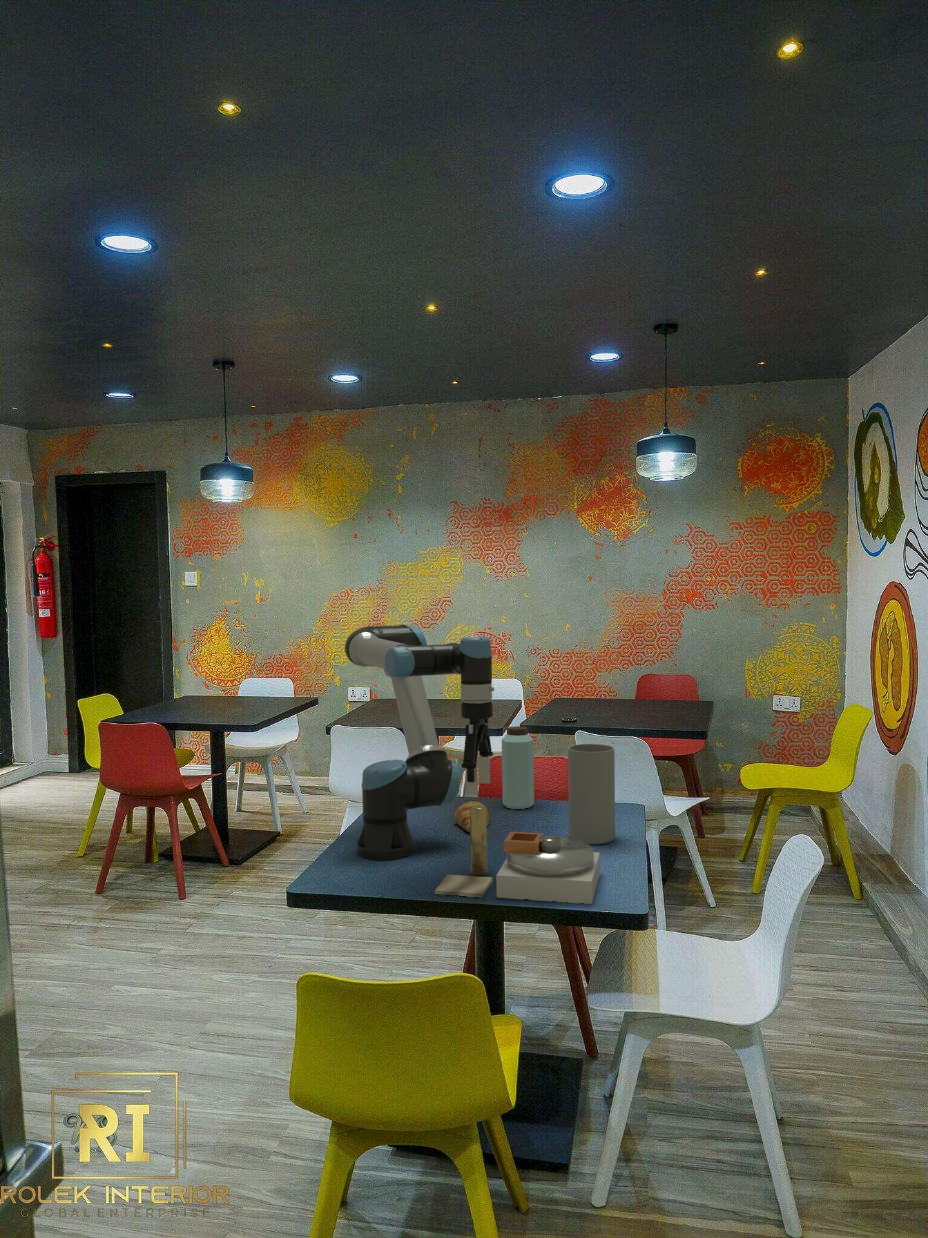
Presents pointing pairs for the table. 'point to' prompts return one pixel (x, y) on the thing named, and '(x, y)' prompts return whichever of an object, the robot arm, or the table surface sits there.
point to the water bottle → (517, 768)
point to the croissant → (466, 815)
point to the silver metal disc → (547, 854)
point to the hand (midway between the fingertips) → (478, 789)
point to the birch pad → (464, 885)
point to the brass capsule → (478, 839)
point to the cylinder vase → (591, 793)
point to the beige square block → (549, 885)
